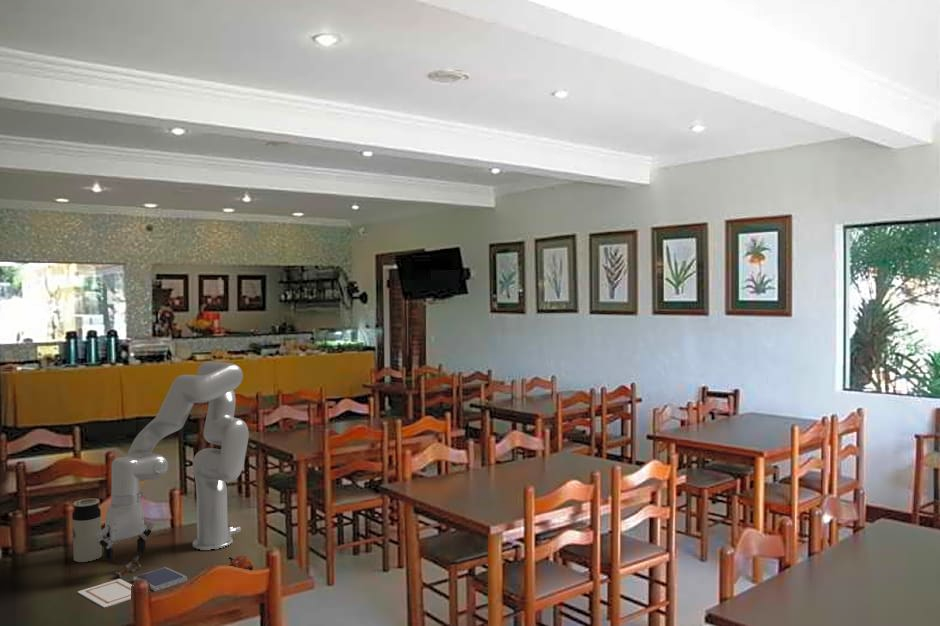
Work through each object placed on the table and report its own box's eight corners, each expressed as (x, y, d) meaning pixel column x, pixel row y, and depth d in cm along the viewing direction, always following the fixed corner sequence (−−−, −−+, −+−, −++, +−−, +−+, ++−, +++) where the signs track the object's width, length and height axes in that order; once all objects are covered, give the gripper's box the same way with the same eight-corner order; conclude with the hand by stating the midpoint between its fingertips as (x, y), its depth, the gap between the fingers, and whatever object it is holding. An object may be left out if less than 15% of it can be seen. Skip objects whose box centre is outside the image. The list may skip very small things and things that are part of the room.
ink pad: (165, 570, 235) (165, 566, 235) (187, 580, 227) (187, 575, 227) (133, 580, 227) (133, 576, 227) (154, 591, 220) (154, 586, 219)
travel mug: (103, 552, 251) (101, 497, 250) (100, 561, 243) (98, 503, 242) (75, 555, 248) (74, 499, 248) (71, 564, 241) (69, 506, 240)
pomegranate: (257, 584, 230) (238, 559, 234) (265, 569, 226) (245, 543, 230) (236, 595, 224) (217, 569, 228) (243, 580, 220) (224, 553, 224)
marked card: (119, 579, 228) (119, 578, 228) (147, 593, 218) (147, 592, 218) (77, 592, 219) (77, 591, 219) (104, 607, 209) (104, 606, 209)
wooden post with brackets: (145, 565, 237) (139, 554, 235) (124, 584, 231) (118, 573, 229) (140, 564, 238) (135, 553, 236) (120, 583, 232) (114, 572, 230)
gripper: (147, 491, 241) (146, 547, 241) (89, 502, 228) (89, 561, 228) (159, 496, 236) (159, 552, 237) (102, 507, 223) (101, 567, 223)
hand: (125, 556), depth 232 cm, fingers open, 9 cm apart
